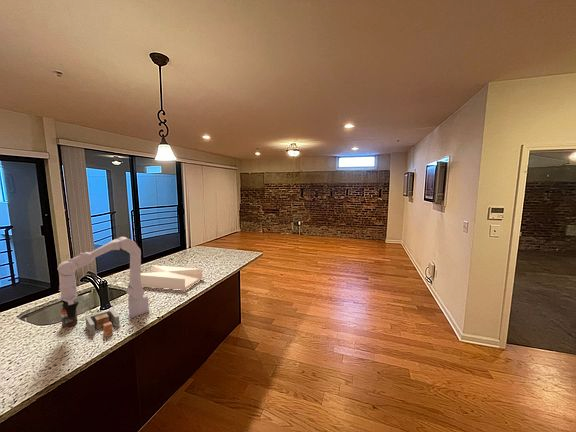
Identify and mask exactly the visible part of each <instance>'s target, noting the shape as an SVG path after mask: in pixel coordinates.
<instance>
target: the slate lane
mask: <svg viewBox="0 0 576 432" xmlns="http://www.w3.org/2000/svg"><path fill="white" fill-rule="evenodd" d="M105 313H107V315H108V316H109V321H110V322H111V323H112V325H114V326H115V327H119V326H120V315H119V314H118V313H117V312H116V311H115V310H114V309H113V308H111V309H107V310H103V311H100V312H97V313H94V314H91V315H88V316H85V327H86V329H87V330H88V333H89V334H90V336H92V335H96V328H95V327H96V326H95V318H94V317H95V316H99V315H102V314H105Z"/></svg>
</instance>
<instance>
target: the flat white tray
mask: <svg viewBox="0 0 576 432" xmlns="http://www.w3.org/2000/svg"><path fill="white" fill-rule="evenodd" d="M128 277H129V282H130V273H129V274H128ZM201 279H202V280H203V268H194V267H181V266H167V265H155V264H151V272H141V283H142V286H143V288H144V287H155V288H169V289H181V290H186V289H187V288H189V287H190V286H192V285H193V284H195V283H196V282H198V281H199V280H201Z"/></svg>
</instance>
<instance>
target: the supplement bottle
mask: <svg viewBox="0 0 576 432" xmlns="http://www.w3.org/2000/svg"><path fill="white" fill-rule="evenodd" d="M77 314H78V313H77V311H76V312H75V317H71V318H68V315H67V312H66V310H65V309H64V308H63V307H62V308H61V309H60V316H61V317H60V318H61V327H63V328H68V327H72V326H74V325H76V324H78V315H77Z"/></svg>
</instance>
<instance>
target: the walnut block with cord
mask: <svg viewBox="0 0 576 432" xmlns="http://www.w3.org/2000/svg"><path fill="white" fill-rule="evenodd" d="M94 318H95V327H96V328H97V329H101V328H103V329H102V330H103V335H104V337H107V336H110V335H113V334H114V332H113V322H112V321H110V320H109V316H108V315H107V313H105V314H102V315H99V316H95V317H94Z"/></svg>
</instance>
